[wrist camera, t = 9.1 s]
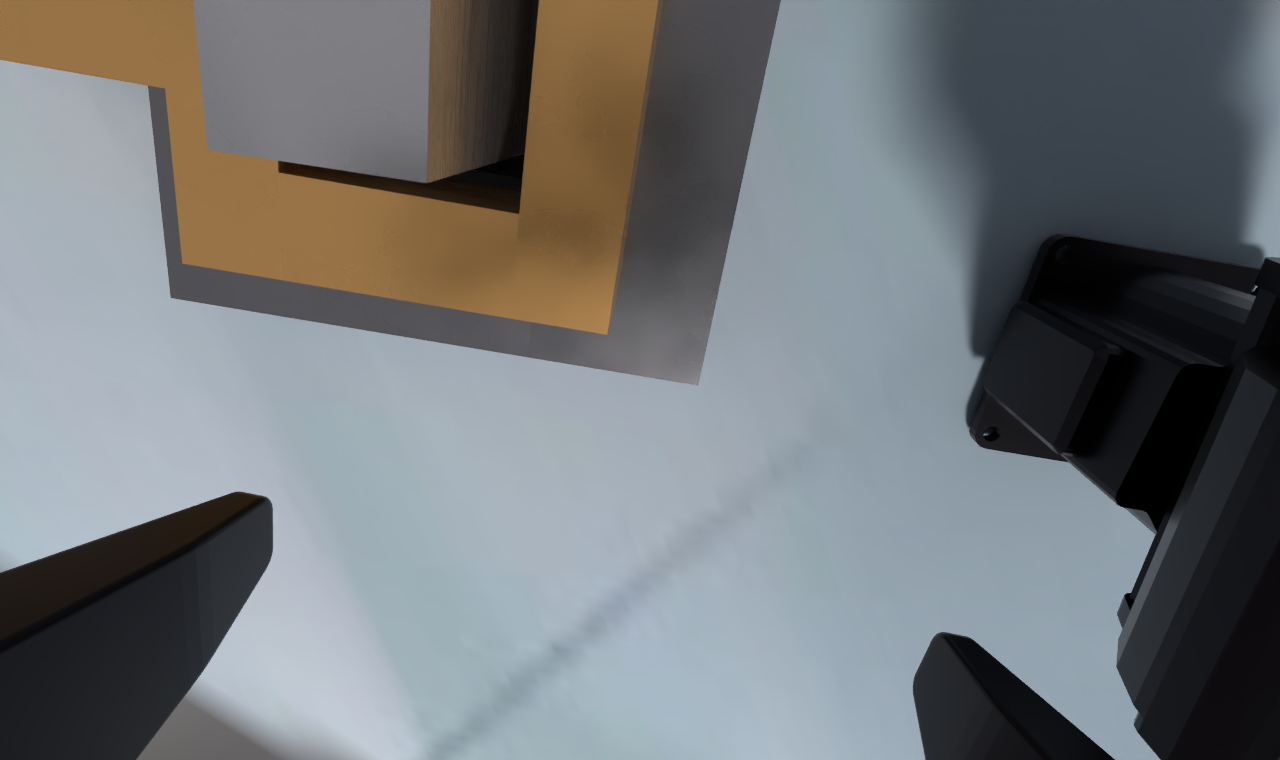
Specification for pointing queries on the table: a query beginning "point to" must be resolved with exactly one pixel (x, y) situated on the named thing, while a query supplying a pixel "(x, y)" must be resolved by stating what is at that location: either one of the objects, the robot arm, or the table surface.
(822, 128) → the table surface
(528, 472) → the table surface
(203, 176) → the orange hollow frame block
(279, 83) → the grey rectangular block
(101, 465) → the table surface
